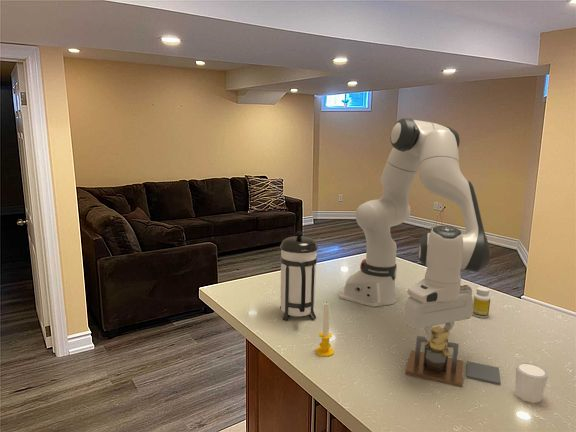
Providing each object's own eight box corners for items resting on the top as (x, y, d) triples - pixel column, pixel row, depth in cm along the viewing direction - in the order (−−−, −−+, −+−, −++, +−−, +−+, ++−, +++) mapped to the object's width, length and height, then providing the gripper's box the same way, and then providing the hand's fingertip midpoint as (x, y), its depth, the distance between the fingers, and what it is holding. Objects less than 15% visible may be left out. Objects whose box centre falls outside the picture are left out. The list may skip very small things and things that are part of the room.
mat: (466, 377, 111) (466, 375, 111) (466, 362, 118) (467, 361, 118) (500, 385, 108) (500, 383, 108) (498, 369, 115) (498, 367, 115)
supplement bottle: (490, 319, 147) (493, 292, 145) (473, 317, 148) (476, 290, 146) (486, 312, 152) (489, 286, 150) (470, 311, 153) (473, 285, 151)
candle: (315, 347, 125) (317, 297, 122) (333, 348, 125) (335, 298, 122) (316, 356, 120) (317, 305, 117) (334, 357, 120) (336, 305, 117)
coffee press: (265, 315, 147) (265, 231, 141) (295, 302, 158) (297, 224, 153) (302, 331, 135) (305, 240, 129) (333, 316, 147) (336, 232, 141)
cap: (420, 344, 116) (422, 325, 115) (432, 341, 117) (434, 322, 116) (441, 357, 109) (443, 337, 108) (454, 354, 111) (456, 334, 110)
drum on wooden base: (405, 374, 112) (407, 345, 110) (411, 353, 123) (413, 326, 121) (462, 387, 107) (465, 357, 105) (462, 363, 117) (465, 336, 116)
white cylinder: (506, 387, 107) (509, 362, 105) (532, 386, 107) (535, 361, 106) (523, 404, 100) (527, 378, 99) (551, 403, 101) (555, 377, 99)
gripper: (463, 280, 117) (458, 326, 120) (402, 289, 109) (398, 338, 112) (481, 288, 111) (476, 336, 114) (418, 297, 104) (414, 349, 106)
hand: (437, 337), depth 113 cm, fingers closed on cap, 4 cm apart
